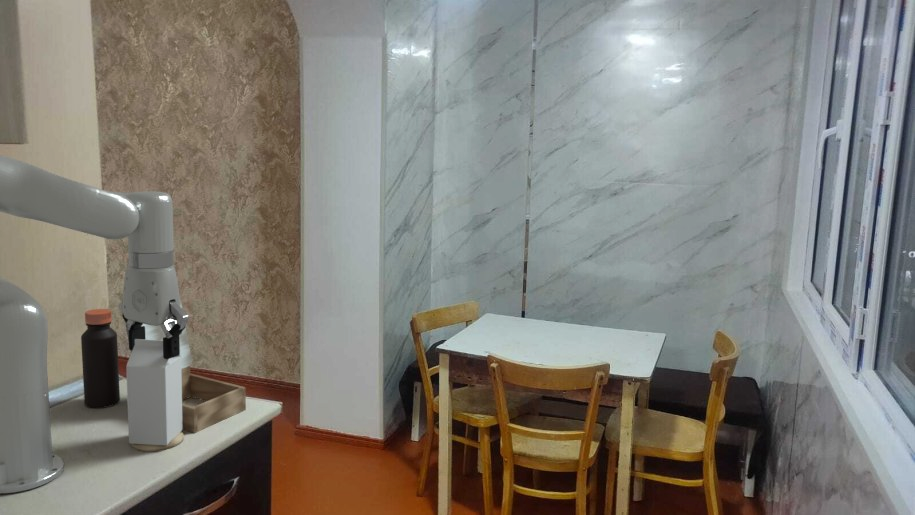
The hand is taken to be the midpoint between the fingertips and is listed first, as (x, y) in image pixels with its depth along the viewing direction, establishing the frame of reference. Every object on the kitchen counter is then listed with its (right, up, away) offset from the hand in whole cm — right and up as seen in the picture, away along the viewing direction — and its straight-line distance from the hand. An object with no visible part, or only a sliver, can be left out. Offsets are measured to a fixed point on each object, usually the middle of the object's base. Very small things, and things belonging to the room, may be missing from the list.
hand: (154, 352), depth 129 cm
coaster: (-1, -17, +3) cm, 17 cm away
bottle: (-20, -14, +20) cm, 31 cm away
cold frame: (-1, -15, +17) cm, 23 cm away
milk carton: (-1, -17, +3) cm, 17 cm away
